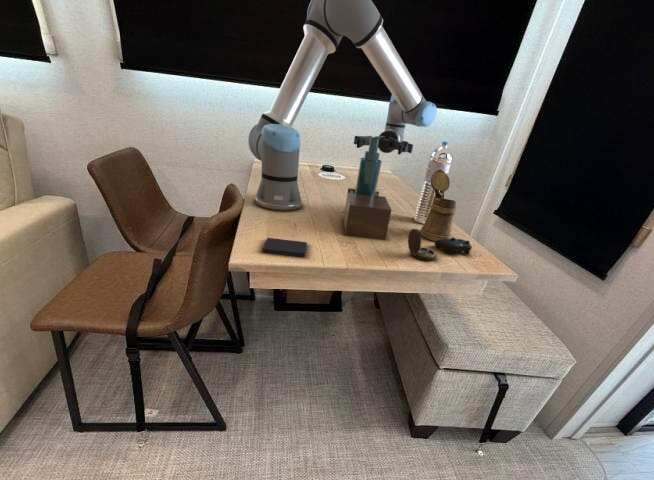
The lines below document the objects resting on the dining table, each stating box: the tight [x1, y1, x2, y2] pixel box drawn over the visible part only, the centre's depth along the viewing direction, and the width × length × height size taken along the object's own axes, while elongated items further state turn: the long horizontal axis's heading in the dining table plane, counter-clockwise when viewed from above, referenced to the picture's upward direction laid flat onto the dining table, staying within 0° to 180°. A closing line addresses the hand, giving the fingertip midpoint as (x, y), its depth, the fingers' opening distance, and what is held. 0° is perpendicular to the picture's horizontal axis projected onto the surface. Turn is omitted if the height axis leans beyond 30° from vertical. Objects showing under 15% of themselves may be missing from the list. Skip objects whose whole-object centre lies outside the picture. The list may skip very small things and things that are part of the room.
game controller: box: [434, 237, 472, 255], centre depth 91 cm, size 10×5×6 cm
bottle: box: [355, 136, 382, 196], centre depth 102 cm, size 6×6×22 cm
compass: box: [407, 228, 437, 262], centre depth 85 cm, size 8×8×7 cm
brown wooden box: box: [343, 191, 393, 240], centre depth 97 cm, size 14×12×9 cm
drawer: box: [344, 187, 380, 209], centre depth 108 cm, size 17×10×7 cm, turn 178°
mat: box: [262, 237, 308, 258], centre depth 80 cm, size 7×10×1 cm
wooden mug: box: [419, 169, 457, 242], centre depth 98 cm, size 9×14×18 cm, turn 6°
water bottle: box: [413, 140, 454, 225], centre depth 106 cm, size 7×7×25 cm
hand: (378, 146), depth 105 cm, fingers open, 13 cm apart
